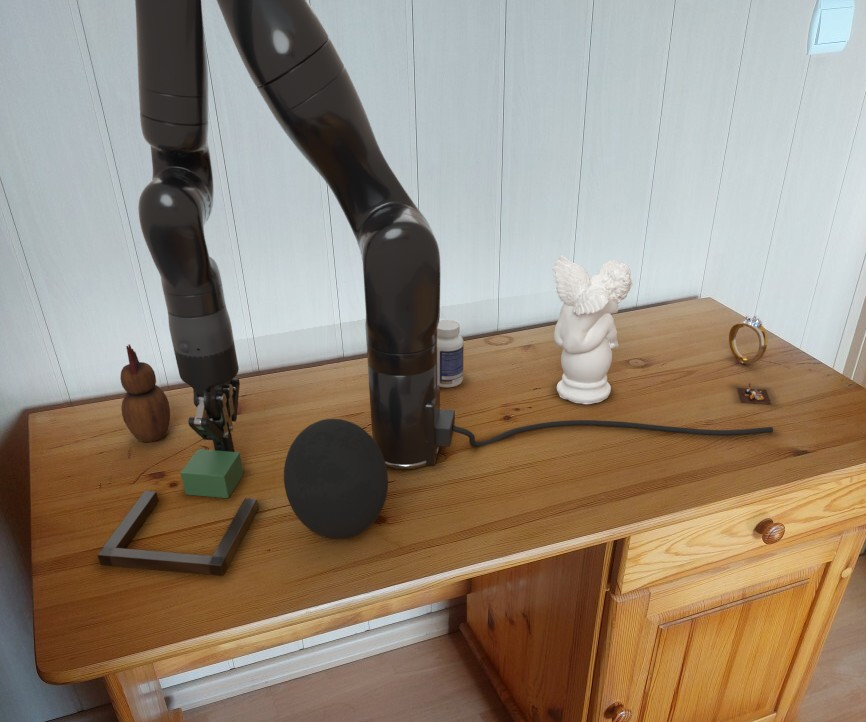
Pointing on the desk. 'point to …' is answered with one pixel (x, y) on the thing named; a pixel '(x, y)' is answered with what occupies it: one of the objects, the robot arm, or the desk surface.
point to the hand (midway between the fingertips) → (226, 457)
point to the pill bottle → (449, 354)
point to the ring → (762, 336)
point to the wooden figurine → (143, 401)
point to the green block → (212, 473)
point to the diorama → (753, 395)
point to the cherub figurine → (588, 327)
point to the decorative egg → (335, 478)
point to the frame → (166, 561)
